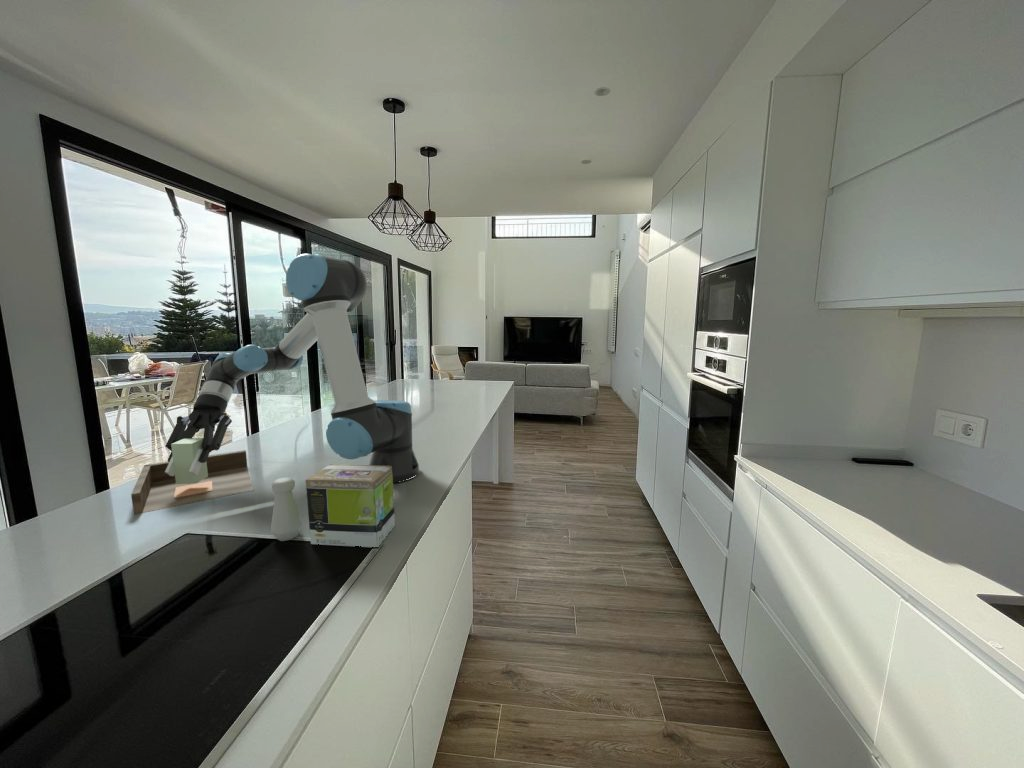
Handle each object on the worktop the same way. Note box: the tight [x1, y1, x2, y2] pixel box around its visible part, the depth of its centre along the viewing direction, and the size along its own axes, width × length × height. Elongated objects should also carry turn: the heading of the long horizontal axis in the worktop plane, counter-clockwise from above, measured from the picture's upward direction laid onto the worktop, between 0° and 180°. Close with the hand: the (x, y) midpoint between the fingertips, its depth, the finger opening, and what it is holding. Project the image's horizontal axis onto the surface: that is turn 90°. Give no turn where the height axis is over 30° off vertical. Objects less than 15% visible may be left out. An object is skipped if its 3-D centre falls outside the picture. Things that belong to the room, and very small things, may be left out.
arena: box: [130, 449, 255, 515], centre depth 113 cm, size 24×24×6 cm
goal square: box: [174, 481, 212, 498], centre depth 111 cm, size 8×8×1 cm
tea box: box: [305, 463, 396, 548], centre depth 89 cm, size 15×10×15 cm
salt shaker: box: [270, 477, 302, 542], centre depth 88 cm, size 6×6×13 cm
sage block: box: [171, 437, 208, 484], centre depth 110 cm, size 5×5×11 cm
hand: (181, 473), depth 106 cm, fingers closed on sage block, 5 cm apart
